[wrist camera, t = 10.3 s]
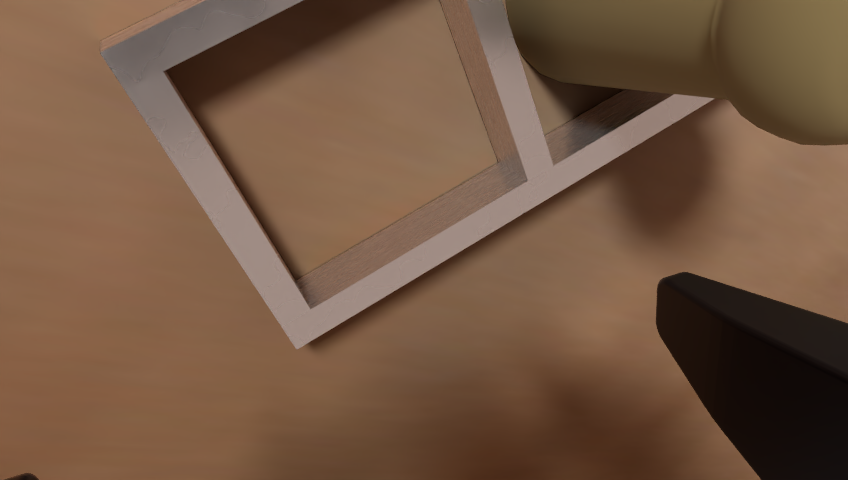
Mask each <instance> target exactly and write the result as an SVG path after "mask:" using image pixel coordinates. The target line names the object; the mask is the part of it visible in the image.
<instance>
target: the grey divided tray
mask: <svg viewBox="0 0 848 480" xmlns="http://www.w3.org/2000/svg"><path fill="white" fill-rule="evenodd" d="M301 1H303V0H182V1H180V2H178V3H176V4H174V5H172V6H170V7H168V8H166V9H164V10H162V11H160V12H158V13H156V14H154V15H152V16H150V17H148V18H145V19H143V20H141V21H139V22H137V23H135V24H133V25H131V26H129V27H127V28H125V29H123V30H121V31H119V32H117V33H115V34H113V35H111V36H109V37H107V38H105V39H103V40H101V45H100V54H101V55H102V57H103V58H104V60H105V61H106V63H107V64H108V66H109V67H110V69H111V70H112V72H113V73H114V75H115V76H116V78H117V79H118V81H119V82H120V84H121V85H122V87H123V88H124V90H125V91H126V93H127V94H128V96H129V97H130V99H131V100H132V102H133V103H134V105H135V106H136V108H137V109H138V111H139V112H140V114H141V115H142V117H143V118H144V120H145V121H146V123H147V124H148V126H149V127H150V129H151V130H152V132H153V134H154V135H155V137H156V138H157V140H158V141H159V143H160V144H161V146H162V147H163V149H164V150H165V152H166V153H167V155H168V156H169V158H170V159H171V161H172V162H173V164H174V165H175V167H176V168H177V170H178V171H179V173H180V174H181V176H182V177H183V179H184V180H185V182H186V183H187V185H188V186H189V188H190V189H191V191H192V192H193V194H194V195H195V197H196V198H197V200H198V201H199V203H200V204H201V206H202V207H203V209H204V210H205V212H206V213H207V215H208V216H209V218H210V219H211V221H212V223H213V224H214V226H215V227H216V229H217V230H218V232H219V233H220V235H221V236H222V238H223V239H224V241H225V242H226V244H227V245H228V247H229V248H230V250H231V251H232V253H233V254H234V256H235V257H236V259H237V260H238V262H239V263H240V265H241V266H242V268H243V269H244V271H245V272H246V274H247V275H248V277H249V278H250V280H251V281H252V283H253V284H254V286H255V287H256V289H257V290H258V292H259V293H260V295H261V296H262V298H263V299H264V301H265V302H266V304H267V305H268V307H269V308H270V310H271V311H272V313H273V315H274V316H275V318H276V319H277V321H278V322H279V324H280V325H281V327H282V328H283V330H284V331H285V333H286V334H287V336H288V337H289V339H290V340H291V342H292V343H293V345H294V346H295V348H296V349H299V348H300V347H302V346H304V345H305V344H307V343H309V342H310V341H312V340H314V339H315V338H317V337H319V336H320V335H322V334H324V333H325V332H327V331H329V330H330V329H332V328H334V327H335V326H337V325H339V324H340V323H342V322H344V321H345V320H347V319H349V318H350V317H352V316H354V315H355V314H357V313H359V312H360V311H362V310H364V309H365V308H367V307H369V306H370V305H372V304H374V303H375V302H377V301H379V300H380V299H382V298H384V297H385V296H387V295H389V294H390V293H392V292H394V291H395V290H397V289H399V288H400V287H402V286H404V285H405V284H407V283H409V282H410V281H412V280H414V279H415V278H417V277H419V276H420V275H422V274H424V273H425V272H427V271H429V270H430V269H432V268H434V267H435V266H437V265H439V264H440V263H442V262H444V261H445V260H447V259H449V258H450V257H452V256H454V255H455V254H457V253H459V252H460V251H462V250H464V249H465V248H467V247H469V246H470V245H472V244H474V243H475V242H477V241H479V240H480V239H482V238H484V237H485V236H487V235H489V234H490V233H492V232H494V231H495V230H497V229H499V228H500V227H502V226H504V225H505V224H507V223H509V222H510V221H512V220H514V219H515V218H517V217H518V216H520V215H522V214H523V213H525V212H527V211H528V210H530V209H532V208H533V207H535V206H537V205H538V204H540V203H542V202H543V201H545V200H547V199H548V198H550V197H552V196H553V195H555V194H557V193H558V192H560V191H562V190H563V189H565V188H567V187H568V186H570V185H572V184H573V183H575V182H577V181H578V180H580V179H582V178H583V177H585V176H587V175H588V174H590V173H592V172H593V171H595V170H597V169H598V168H600V167H602V166H603V165H605V164H607V163H608V162H610V161H612V160H613V159H615V158H617V157H618V156H620V155H622V154H623V153H625V152H627V151H628V150H630V149H632V148H633V147H635V146H637V145H638V144H640V143H642V142H643V141H645V140H647V139H648V138H650V137H652V136H653V135H655V134H657V133H658V132H660V131H662V130H663V129H665V128H667V127H668V126H670V125H672V124H673V123H675V122H677V121H678V120H680V119H682V118H683V117H685V116H687V115H688V114H690V113H692V112H693V111H695V110H697V109H698V108H700V107H702V106H703V105H705V104H707V103H708V102H710V101H712V100H713V99H715V98H707V97H697V96H688V95H678V94H669V93H659V92H650V91H640V90H631V89H624V90H623V91H621V92H619V93H618V94H616V95H614V96H612V97H611V98H609V99H607V100H606V101H604V102H602V103H600V104H599V105H597V106H595V107H593V108H592V109H590V110H588V111H587V112H585V113H583V114H581V115H580V116H578V117H576V118H575V119H573V120H571V121H569V122H568V123H566V124H564V125H563V126H561V127H559V128H557V129H556V130H554V131H552V132H551V133H549V134H547V135H545V136H544V134H543V130H542V127H541V124H540V121H539V118H538V114H537V111H536V108H535V105H534V102H533V98H532V95H531V92H530V89H529V86H528V82H527V79H526V76H525V73H524V70H523V66H522V63H521V60H520V57H519V54H518V50H517V47H516V44H515V41H514V37H513V34H512V31H511V28H510V25H509V21H508V18H507V15H506V12H505V9H504V5H503V2H502V0H440V3H441V5H442V8H443V11H444V14H445V16H446V19H447V22H448V25H449V28H450V30H451V33H452V36H453V39H454V41H455V44H456V47H457V50H458V52H459V55H460V58H461V61H462V63H463V66H464V69H465V72H466V74H467V77H468V80H469V83H470V86H471V88H472V91H473V94H474V97H475V99H476V102H477V105H478V108H479V110H480V113H481V116H482V119H483V121H484V124H485V127H486V130H487V132H488V135H489V138H490V141H491V143H492V146H493V149H494V152H495V155H496V157H497V160H498V163H497V164H496V165H494V166H492V167H490V168H489V169H487V170H485V171H484V172H482V173H480V174H478V175H477V176H475V177H473V178H471V179H470V180H468V181H466V182H465V183H463V184H461V185H459V186H458V187H456V188H454V189H453V190H451V191H449V192H447V193H446V194H444V195H442V196H441V197H439V198H437V199H435V200H434V201H432V202H430V203H429V204H427V205H425V206H423V207H422V208H420V209H418V210H417V211H415V212H413V213H411V214H410V215H408V216H406V217H404V218H403V219H401V220H399V221H398V222H396V223H394V224H392V225H391V226H389V227H387V228H386V229H384V230H382V231H380V232H379V233H377V234H375V235H374V236H372V237H370V238H368V239H367V240H365V241H363V242H362V243H360V244H358V245H356V246H355V247H353V248H351V249H349V250H348V251H346V252H344V253H343V254H341V255H339V256H337V257H336V258H334V259H332V260H331V261H329V262H327V263H325V264H324V265H322V266H320V267H319V268H317V269H315V270H313V271H312V272H310V273H308V274H307V275H305V276H303V277H301V278H300V279H298V280H295V279H294V277H293V276H292V274H291V272H290V271H289V269H288V267H287V266H286V264H285V263H284V261H283V259H282V258H281V256H280V255H279V253H278V251H277V250H276V248H275V246H274V245H273V243H272V242H271V240H270V238H269V237H268V235H267V233H266V232H265V230H264V229H263V227H262V225H261V224H260V222H259V220H258V219H257V217H256V216H255V214H254V212H253V211H252V209H251V207H250V206H249V204H248V203H247V201H246V199H245V198H244V196H243V195H242V193H241V191H240V190H239V188H238V186H237V185H236V183H235V182H234V180H233V178H232V177H231V175H230V173H229V172H228V170H227V169H226V167H225V165H224V164H223V162H222V160H221V159H220V157H219V156H218V154H217V152H216V151H215V149H214V147H213V146H212V144H211V143H210V141H209V139H208V138H207V136H206V135H205V133H204V131H203V130H202V128H201V126H200V125H199V123H198V122H197V120H196V118H195V117H194V115H193V113H192V112H191V110H190V109H189V107H188V105H187V104H186V102H185V100H184V99H183V97H182V96H181V94H180V92H179V91H178V89H177V88H176V86H175V84H174V83H173V81H172V79H171V78H170V76H169V75H168V73H167V71H166V70H167V69H169V68H171V67H173V66H175V65H177V64H179V63H181V62H183V61H185V60H187V59H189V58H191V57H193V56H195V55H197V54H199V53H201V52H203V51H204V50H206V49H208V48H210V47H212V46H214V45H216V44H218V43H220V42H222V41H224V40H226V39H228V38H230V37H232V36H234V35H236V34H238V33H240V32H242V31H244V30H246V29H248V28H250V27H252V26H254V25H256V24H258V23H260V22H262V21H264V20H266V19H268V18H269V17H271V16H273V15H275V14H277V13H279V12H281V11H283V10H285V9H287V8H289V7H291V6H293V5H295V4H297V3H299V2H301Z"/></svg>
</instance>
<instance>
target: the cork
mask: <svg viewBox="0 0 848 480" xmlns="http://www.w3.org/2000/svg"><path fill="white" fill-rule="evenodd" d="M506 7H507V13H508V20H509V25H510V28H511V31H512V34H513V37H514V40H515V42H516V44H517V46H518V49H519V51H520V53H521V55H522V56H523V57H524V58H525V59H526V60H527V61H528V62H529V63H530V64H531V65H532V66H533V67H534V68H535V69H536V70H537V71H538V72H539V73H540V74H542V75H545V76H547V77H550V78H552V79H554V80H557V81H559V82H564V83H573V84H583V85H592V86H602V87H612V88H621V89H631V90H640V91H650V92H659V93H669V94H678V95H688V96H697V97H707V98H716V99H726V100H729V101H730V102H731V103H732V104H733V106H734V107H735V108H736V109H737V111H738V112H739V113H740V115H741V116H743V117H744V118H746V119H747V120H748V121H750V122H751V123H753V124H754V125H755V126H757V127H758V128H761V129H763V130H765V131H767V132H769V133H771V134H774V135H776V136H778V137H780V138H783V139H786V140H789V141H792V142H795V143H798V144H802V145H843V144H848V0H506Z"/></svg>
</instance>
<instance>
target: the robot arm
mask: <svg viewBox="0 0 848 480" xmlns="http://www.w3.org/2000/svg"><path fill="white" fill-rule="evenodd" d="M656 325H657V329H658V332H659V335H660V337H661V338H662V340H663V342H664V343H665V345H666V346H667V348H668V350H669V351H670V353H671V354H672V356H673V357H674V359H675V361H676V362H677V364H678V365H679V367H680V368H681V370H682V372H683V373H684V375H685V376H686V378H687V379H688V381H689V383H690V384H691V386H692V387H693V389H694V390H695V392H696V394H697V395H698V397H699V398H700V400H701V401H702V403H703V405H704V406H705V408H706V409H707V410H708V412H709V413H710V415H711V416H712V418H713V419H714V420H715V422H716V423H717V424H718V426H719V427H720V428H721V430H722V431H723V432H724V433H725V435H726V436H727V437H728V438H729V440H730V441H731V442H732V443H733V445H734V446H735V447H736V449H737V450H738V451H739V452H740V454H741V455H742V456H743V457H744V459H745V460H746V461H747V462H748V464H749V465H750V466H751V467H752V469H753V470H754V471H755V472H756V474H757V475H758V476H759V477H760V479H761V480H848V323H845V322H842V321H839V320H836V319H833V318H830V317H826V316H823V315H820V314H817V313H814V312H811V311H808V310H804V309H801V308H798V307H795V306H792V305H789V304H786V303H783V302H779V301H776V300H773V299H770V298H767V297H764V296H761V295H757V294H754V293H751V292H748V291H745V290H742V289H739V288H736V287H732V286H729V285H726V284H723V283H720V282H717V281H714V280H710V279H707V278H704V277H701V276H698V275H695V274H692V273H688V272H682V273H678V274H675V275H671V276H668V277H665V278H663V279H661V280H660V281H659V283H658V287H657V307H656ZM5 480H39V479H38V478H37V477H36V476H35V475H33V474H31V473H24V474H21V475H18V476H14V477H11V478H8V479H5Z"/></svg>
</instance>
